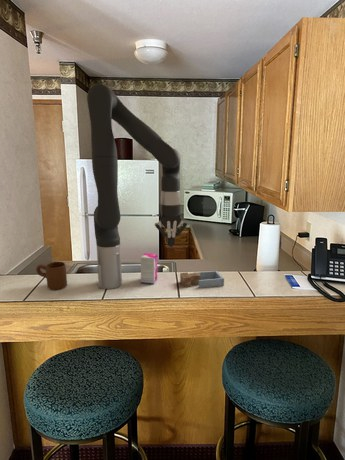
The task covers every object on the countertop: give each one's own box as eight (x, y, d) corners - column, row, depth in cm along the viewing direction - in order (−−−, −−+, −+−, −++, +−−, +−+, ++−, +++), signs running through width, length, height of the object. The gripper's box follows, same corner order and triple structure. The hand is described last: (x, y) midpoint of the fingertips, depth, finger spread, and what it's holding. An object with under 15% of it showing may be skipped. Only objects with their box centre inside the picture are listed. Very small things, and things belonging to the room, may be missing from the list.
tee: (183, 287, 132) (183, 278, 131) (180, 282, 138) (180, 273, 136) (201, 285, 134) (201, 276, 133) (197, 280, 139) (197, 271, 138)
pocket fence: (199, 287, 132) (199, 280, 131) (193, 279, 140) (193, 272, 140) (223, 285, 134) (224, 278, 133) (216, 277, 142) (216, 270, 142)
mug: (33, 289, 130) (30, 267, 128) (42, 281, 138) (40, 260, 135) (62, 291, 129) (60, 268, 127) (70, 283, 136) (68, 261, 134)
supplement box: (154, 284, 135) (154, 258, 132) (140, 283, 136) (139, 257, 133) (157, 279, 140) (157, 253, 137) (144, 278, 141) (143, 252, 139)
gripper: (155, 205, 120) (155, 250, 125) (190, 203, 123) (189, 248, 128) (152, 201, 128) (152, 244, 132) (185, 200, 130) (184, 242, 135)
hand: (170, 246), depth 130 cm, fingers closed
